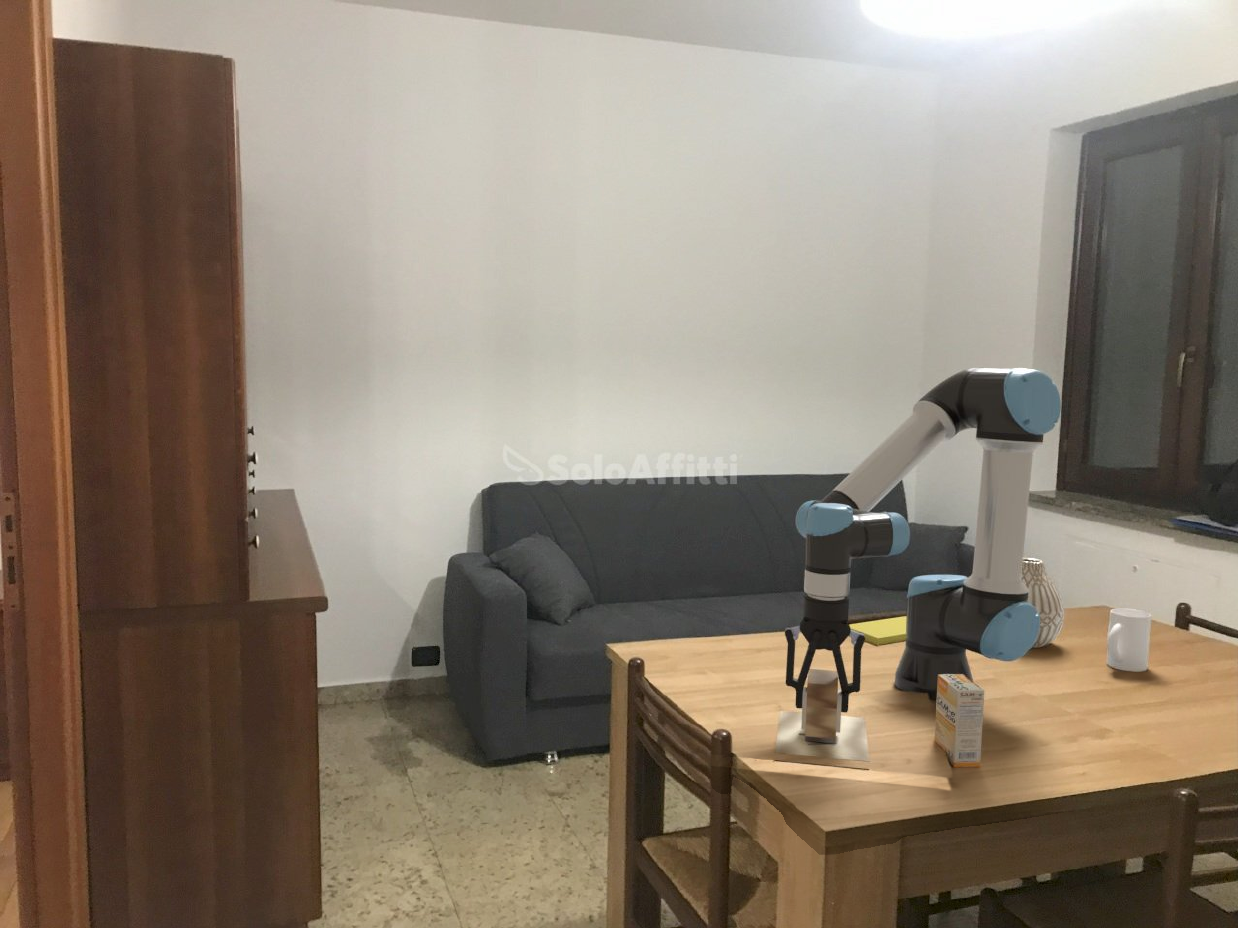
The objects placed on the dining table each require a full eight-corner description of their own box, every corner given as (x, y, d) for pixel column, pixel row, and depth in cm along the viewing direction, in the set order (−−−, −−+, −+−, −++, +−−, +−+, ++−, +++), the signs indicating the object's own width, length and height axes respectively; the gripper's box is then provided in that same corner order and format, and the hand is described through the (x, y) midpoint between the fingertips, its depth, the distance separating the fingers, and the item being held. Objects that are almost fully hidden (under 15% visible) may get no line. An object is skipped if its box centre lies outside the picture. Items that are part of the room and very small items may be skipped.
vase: (1074, 653, 224) (1080, 567, 221) (1004, 652, 224) (1009, 566, 222) (1045, 634, 239) (1050, 553, 237) (979, 632, 240) (984, 552, 238)
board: (864, 725, 176) (864, 717, 176) (868, 770, 157) (869, 760, 157) (780, 718, 179) (780, 709, 179) (774, 760, 160) (775, 751, 160)
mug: (1088, 667, 213) (1092, 613, 212) (1117, 658, 220) (1120, 606, 219) (1126, 677, 207) (1130, 621, 205) (1154, 667, 214) (1158, 614, 212)
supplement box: (932, 748, 167) (936, 673, 165) (959, 747, 167) (963, 673, 166) (952, 767, 158) (956, 689, 157) (981, 767, 159) (985, 689, 157)
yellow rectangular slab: (877, 647, 228) (951, 635, 239) (878, 638, 228) (951, 626, 239) (842, 634, 238) (914, 623, 250) (842, 625, 238) (914, 614, 250)
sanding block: (835, 726, 171) (837, 671, 170) (835, 743, 163) (837, 685, 162) (806, 723, 172) (808, 668, 171) (805, 740, 164) (807, 682, 163)
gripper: (880, 593, 167) (874, 725, 169) (773, 586, 171) (769, 715, 173) (882, 604, 160) (875, 741, 162) (771, 596, 164) (766, 730, 166)
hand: (820, 727), depth 168 cm, fingers closed on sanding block, 5 cm apart
